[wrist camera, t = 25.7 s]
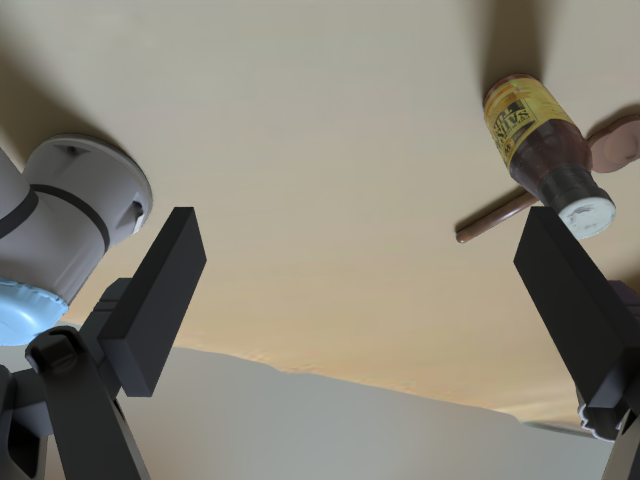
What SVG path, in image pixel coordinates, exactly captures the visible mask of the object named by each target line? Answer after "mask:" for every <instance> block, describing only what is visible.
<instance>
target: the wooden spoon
mask: <svg viewBox="0 0 640 480" xmlns="http://www.w3.org/2000/svg"><path fill="white" fill-rule="evenodd" d="M587 143H588V144H589V146H590V149H591V151H592V158H593V162H592V168H591V170H592V171H594V172H597V173H610V172H614V171H617V170H619V169H621V168H623V167H624V166H626V165H627V164H629V163H630V162H633V161H635V160H637V159H639V158H640V116H638V115H633V116H627V117H624V118H621V119H619V120H617V121H615V122H614V123H612V124H611V125H610V126H609V127H608V128H605V129H603V130H601V131H599V132H597V133H596V134H594V135H593V136H592V137H591V138H590V139H589V140H588V141H587ZM537 201H539V199H537V198H536V197H535V196H533V195H532V194H531V193H530V192H529V191H528V192H526V193H525V194H523V195H521V196H519V197H518V198H516V199H514V200H513V201H511V202H509V203H508V204H506V205H504V206H503V207H501V208H499V209H497V210H496V211H494V212H492V213H491V214H489V215H487V216H486V217H484V218H482V219H480V220H479V221H477V222H475V223H474V224H472V225H470V226H469V227H467V228H465V229H463V230H462V231H460V232H458V233H457V235H456V240H457V241H458V242H459V243H465V242H467V241H469V240H471V239H472V238H474V237H476V236H478V235H479V234H481V233H483V232H485V231H486V230H488V229H490V228H492V227H493V226H495V225H497V224H499V223H500V222H502V221H504V220H506V219H507V218H509V217H511V216H513V215H515V214H516V213H518V212H520V211H522V210H523V209H525V208H527V207H529V206H530V205H532V204H534V203H536V202H537Z"/></svg>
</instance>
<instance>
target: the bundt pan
mask: <svg viewBox="0 0 640 480" xmlns="http://www.w3.org/2000/svg"><path fill="white" fill-rule="evenodd" d="M575 386H576V384H575ZM576 393H577V397H578V402H579V407H578V414H579V417H580V418H581V419H582V422H581V427H582V428H584V429H587V430H591V432H592V434H593V435H594V436H595V437H596V438H598V439H600V440H603V441H609V442H615V441H616V438H617V435H618V432H619V430H617V429H615V427H616V426H617V424H618V423H619V422H620V420H621V419H622V418H623V416H624V415H625V414H626V412H627V411H628V410H629V408H630V407H629V405H628V403H627V402H626V400H625V398H624V397H623V396H622V397H621V399H620V400H619V401H618V403H617V404H616V406H615V407H614V408H608V407H587V406H586V404H585V402H584V400H583V398H582V396H581V394H580V392H579V390H578V388H577V386H576Z"/></svg>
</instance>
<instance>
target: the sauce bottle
mask: <svg viewBox="0 0 640 480" xmlns="http://www.w3.org/2000/svg"><path fill="white" fill-rule="evenodd" d="M484 119H485V122H486V125H487V127H488V129H489V131H490V133H491V135H492V137H493V139H494V141H495V144H496V146H497V148H498V150H499V152H500V154H501V157H502V159H503V161H504V163H505V165H506V167H507V169H508V171H509V174H510V176H511V177H512V178H513V179H514V180H515V181H516V182H517V183H519V184H520V185H521V186H522V187H524V188H525V189H526V190H527V191H529V192H530V193H531V194H532V195H533V196H535V197H536V198H537V199H539V200H540V201H541V202H542V203H543V204H544V206H552V207H553V209H554V210H555V211H556V213H557V214H558V215H559V217H560V218H561V219H562V221H563V222H564V223H565V225H566V226H567V227H568V229H569V230H570V231H571V233H572V234H573V235H574V237H575V238H576V239H584V238H589V237H591V236H593V235H596V234H598V233H600V232H602V231H603V230H604V229H606V228H607V227H608V226H609V225H610V224H611V222H612V221H613V219H614V217H615V215H616V207H615V204H614V203H613V201H612V199H611V198H610V197H609V195H608V194H607V192H606V191H604V190H603V189H601V188H599V187H598V186H597V184H596V183H595V181H594V180H593V178H592V176H591V174H590V173H591V168H592V162H593V158H592V151H591V149H590V146H589V144H588V143H587V140H585V138H583V136H582V135H581V132H580V130H579V129H578V127H577V126H576V125H575V124H574V122H573V121H572V120H571V119H570V117H569V116H568V115H567V114H566V112H565V111H564V110H563V109H562V107H561V106H560V105H559V104H558V102H557V101H556V100H555V99H554V97H553V96H552V95H551V93H550V92H549V91H548V90H547V88H546V87H545V86H544V85H543V84H542V83H540V82H539V81H538V80H537V79H535V78H533V77H531V76H529V75H526V74H514V75H509V76H507V77H505V78H503V79H501V80H500V81H498V82H497V83H496V84H495V85H494V86H493V87H492V88H491V89H490V91H489V92H488V93H487V95H486V98H485V100H484Z"/></svg>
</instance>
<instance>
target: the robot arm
mask: <svg viewBox="0 0 640 480" xmlns="http://www.w3.org/2000/svg"><path fill="white" fill-rule="evenodd" d="M152 201H153V200H152V193H151V189H150V186H149V184H148V181H147V180H146V178H145V176H144V174H143V173H142V171H141V170H140V169H139V168H138V166H137V165H136V164H135V163H134V162H133V161H132V160H131V159H130V158H129V157H128V156H126V155H125V154H124V153H123V152H121V151H120V150H119V149H117V148H115V147H114V146H112V145H110V144H108V143H106V142H104V141H102V140H100V139H97V138H94V137H91V136H87V135H82V134H73V133H68V134H60V135H56V136H53V137H51V138H49V139H47V140H46V141H44V142H43V143H42V144H41V145H39V146H38V147H37V148H36V149H35V150H34V151H33V152H32V153H31V155H30V157H29V159H28V161H27V163H26V166H25V168H24V170H23V173H22V174H21V173H20V172H19V170H18V169H17V168H16V166H15V165H14V164H13V163H12V161H11V160H10V159H9V157H8V156H7V155H6V153H5V152H4V151H3V150H2V148H1V147H0V345H6V346H9V345H23V344H28V343H29V345H28V347H27V348H26V350H25V358H26V359H27V361H28V362H29V363H30V364H31V366H32V367H33V368H31V369H27V370H22V371H18V372H14V373H10V371H9V370H8V369H7V368H6V367H5V366H3V365H0V480H44V476H45V464H46V452H47V441H48V435H52V434H54V436H55V440H56V444H57V447H58V451H59V455H60V459H61V462H62V466H63V470H64V474H65V478H66V480H151V478H150V476H149V473H148V471H147V469H146V467H145V464H144V461H143V459H142V457H141V454H140V452H139V450H138V447H137V445H136V443H135V440H134V438H133V435H132V433H131V431H130V428H129V426H128V424H127V421H126V419H125V416H124V414H123V412H122V409H121V407H120V405H119V403H118V401H117V399H116V396H117V394H118V392H119V390H120V388H121V386H122V388H123V390H124V391H125V393H126V395H127V396H128V397H151V396H152V394H153V392H154V389H155V387H156V384H157V382H158V379H159V377H160V374H161V372H162V369H163V367H164V365H165V362H166V359H167V357H168V355H169V352H170V350H171V347H172V345H173V342H174V340H175V337H176V335H177V333H178V330H179V328H180V325H181V323H182V320H183V318H184V315H185V313H186V310H187V308H188V305H189V303H190V301H191V298H192V296H193V293H194V291H195V288H196V286H197V283H198V281H199V278H200V276H201V273H202V271H203V269H204V266H205V264H206V261H207V259H206V255H205V251H204V247H203V243H202V239H201V235H200V231H199V227H198V223H197V219H196V215H195V211H194V207H174V209H173V211H172V212H171V214H170V216H169V217H168V219H167V221H166V222H165V224H164V226H163V227H162V229H161V231H160V232H159V234H158V236H157V237H156V239H155V241H154V242H153V244H152V246H151V247H150V249H149V251H148V252H147V254H146V256H145V257H144V259H143V261H142V262H141V264H140V266H139V267H138V269H137V271H136V273H135V274H134V276H133V278H119V279H117V280H116V281H115V282H114V283H112V284H111V285H110V286H109V287H108V288H107V289H106V290H105V292H104V293H103V295H102V296H101V298H100V299H99V302H97V304H96V306H95V307H94V309H93V312H91V313H90V315H89V316H88V318H87V319H86V321H85V322H84V324H83V325H82V327H81V329H80V330H79V332H78V331H77V330H76V329H75V328H74V327H71V326H57V327H54V328H52V327H53V326H54V324H55V323H56V322H57V321H58V320H59V319H60V317H61V316H62V315H64V314H65V313H66V312H67V310H68V308H69V306H70V304H71V303H72V301H73V300H74V298H75V297H76V295H77V294H78V292H79V291H80V289H81V288H82V287H83V285H84V284H85V282H86V281H87V279H88V278H89V276H90V275H91V273H92V272H93V270H94V269H95V267H96V266H97V264H98V263H99V262H100V260H101V259H102V257H103V256H104V254H105V253H106V252H107V250H108V249H110V248H111V247H113V246H114V245H116V244H118V243H119V242H121V241H122V240H124V239H126V238H127V237H129V236H130V235H133V234H135V233H136V232H138V231H139V229H140V228H141V227H142V225H143V224H144V222H145V221H146V219H147V218H148V216H149V214H150V212H151V209H152ZM513 262H514V264H515V266H516V268H517V270H518V272H519V274H520V276H521V278H522V280H523V282H524V284H525V286H526V288H527V290H528V292H529V294H530V296H531V298H532V300H533V302H534V304H535V306H536V308H537V310H538V312H539V314H540V316H541V317H542V319H543V321H544V323H545V325H546V327H547V329H548V331H549V333H550V335H551V337H552V339H553V341H554V343H555V345H556V347H557V349H558V351H559V353H560V355H561V357H562V359H563V361H564V363H565V365H566V367H567V369H568V371H569V372H570V374H571V376H572V378H573V380H574V382H575V384H576V386H577V388H578V390H579V392H580V394H581V396H582V398H583V400H584V402H585V404H586V406H587V407H608V408H614V407H615V406H616V404H617V403H618V401H619V400H620V399H621V397H622V396H623V397H624V398H625V400H626V402H627V403H628V405H629V407H630V408H629V410H628V411H627V412H626V414H625V415H624V416H623V418H622V419H621V420H620V422H619V423H618V424H617V426H616V427H615V429H617V430H619V432H618V435H617V438H616V441H615V444H614V446H613V449H612V452H611V455H610V457H609V460H608V463H607V465H606V468H605V471H604V473H603V476H602V479H601V480H640V297H639V296H638V295H637V293H636V292H635V291H633V290H632V289H631V288H629V287H628V286H627V285H625V284H624V283H622V282H621V281H607V279H606V278H605V277H604V275H603V274H602V273H601V271H600V270H599V269H598V267H597V266H596V265H595V263H594V262H593V261H592V259H591V258H590V257H589V255H588V254H587V253H586V251H585V250H584V249H583V247H582V246H581V245H580V243H579V242H578V241H577V239H576V238H575V237H574V235H573V234H572V233H571V231H570V230H569V229H568V227H567V226H566V225H565V223H564V222H563V221H562V219H561V218H560V217H559V215H558V214H557V213H556V211H555V210H554V209H553V207H552V206H531V209H530V212H529V215H528V218H527V221H526V224H525V227H524V230H523V233H522V236H521V239H520V242H519V245H518V249H517V252H516V255H515V258H514V261H513Z"/></svg>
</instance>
